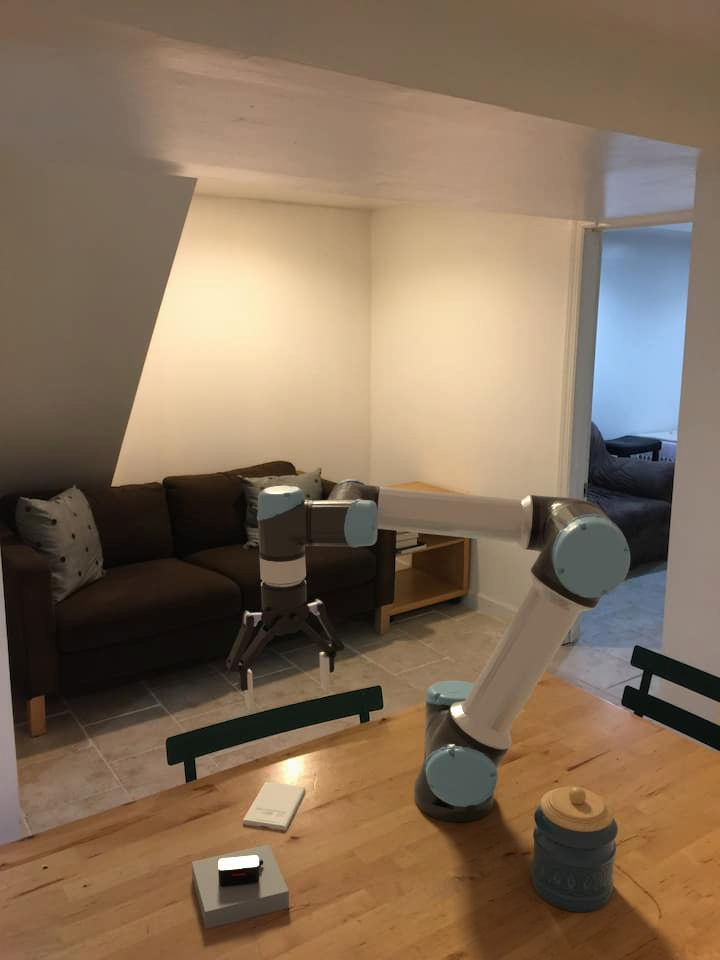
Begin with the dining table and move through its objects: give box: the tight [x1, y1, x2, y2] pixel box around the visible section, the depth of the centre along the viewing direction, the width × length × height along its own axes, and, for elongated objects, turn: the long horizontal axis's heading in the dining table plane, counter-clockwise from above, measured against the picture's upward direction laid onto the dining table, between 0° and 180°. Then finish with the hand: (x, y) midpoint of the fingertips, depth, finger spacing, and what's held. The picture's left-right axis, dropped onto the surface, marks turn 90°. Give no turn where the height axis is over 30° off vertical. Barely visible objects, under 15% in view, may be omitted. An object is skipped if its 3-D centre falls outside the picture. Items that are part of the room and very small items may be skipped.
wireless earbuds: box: [218, 855, 263, 887], centre depth 130 cm, size 5×7×3 cm, turn 100°
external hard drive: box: [242, 781, 306, 831], centre depth 154 cm, size 2×8×12 cm
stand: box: [191, 843, 290, 930], centre depth 131 cm, size 13×12×3 cm
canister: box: [530, 786, 619, 913], centre depth 132 cm, size 13×13×18 cm
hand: (288, 698), depth 140 cm, fingers open, 13 cm apart
